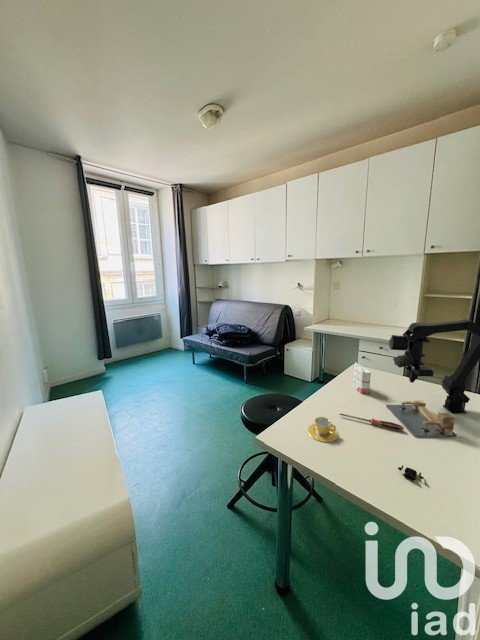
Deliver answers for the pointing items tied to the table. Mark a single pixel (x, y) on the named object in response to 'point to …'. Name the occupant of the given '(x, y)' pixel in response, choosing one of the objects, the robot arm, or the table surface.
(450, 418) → the slider leg
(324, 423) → the cup
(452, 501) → the table surface
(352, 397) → the table surface
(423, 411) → the compass bar
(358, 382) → the ink cartridge box
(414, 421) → the steel plate
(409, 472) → the wireless earbuds
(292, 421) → the table surface
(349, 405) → the table surface
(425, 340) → the robot arm
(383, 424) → the screwdriver
